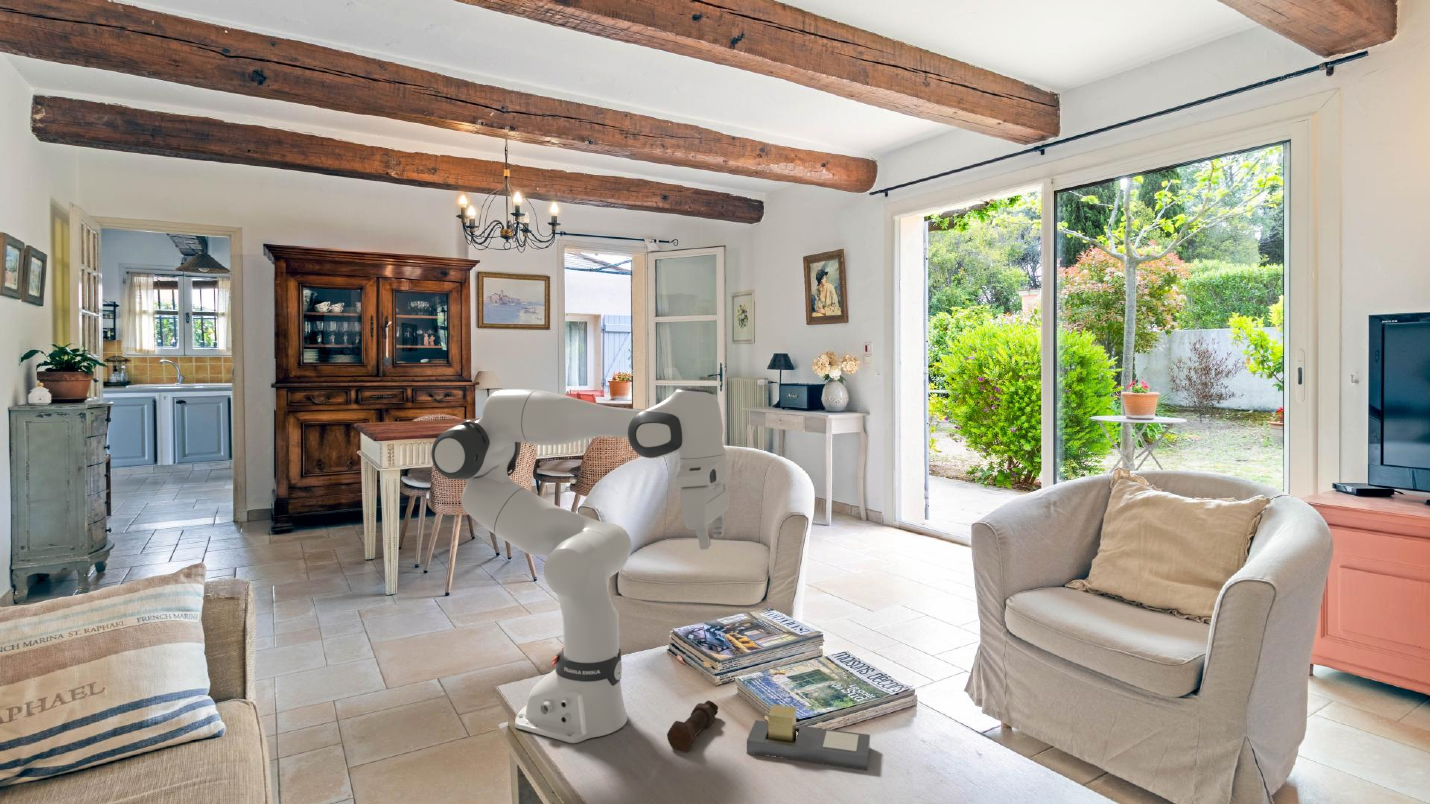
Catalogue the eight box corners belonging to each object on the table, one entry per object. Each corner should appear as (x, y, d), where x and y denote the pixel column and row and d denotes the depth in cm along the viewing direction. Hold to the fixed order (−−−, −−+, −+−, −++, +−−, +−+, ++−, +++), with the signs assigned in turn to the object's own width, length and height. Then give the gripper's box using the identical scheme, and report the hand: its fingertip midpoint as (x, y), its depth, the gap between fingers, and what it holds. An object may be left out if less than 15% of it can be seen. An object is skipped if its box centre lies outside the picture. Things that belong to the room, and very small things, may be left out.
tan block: (768, 751, 139) (768, 715, 138) (772, 739, 143) (772, 704, 143) (792, 754, 138) (792, 718, 137) (795, 742, 142) (796, 707, 141)
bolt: (715, 726, 152) (682, 759, 138) (695, 710, 154) (662, 741, 140) (728, 704, 151) (697, 736, 137) (708, 688, 153) (676, 718, 139)
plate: (746, 753, 138) (746, 739, 138) (755, 732, 146) (755, 719, 146) (867, 770, 132) (867, 755, 132) (869, 747, 140) (869, 733, 140)
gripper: (703, 464, 152) (710, 531, 153) (672, 480, 133) (680, 556, 133) (733, 462, 151) (740, 529, 151) (705, 477, 131) (714, 555, 131)
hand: (712, 542), depth 142 cm, fingers open, 8 cm apart
